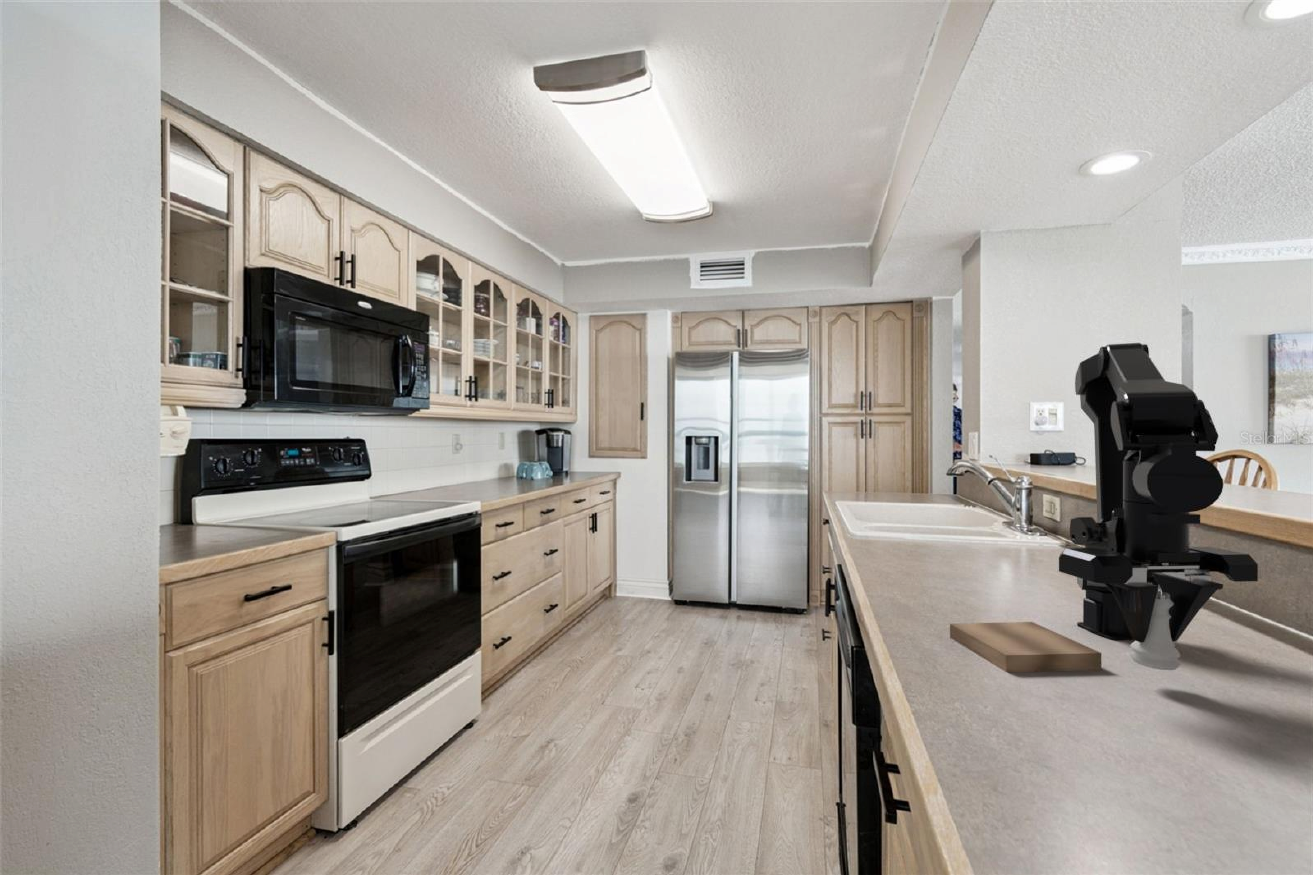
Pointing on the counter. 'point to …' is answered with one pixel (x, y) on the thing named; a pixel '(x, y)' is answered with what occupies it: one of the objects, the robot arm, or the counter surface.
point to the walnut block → (1024, 647)
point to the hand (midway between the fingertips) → (1154, 640)
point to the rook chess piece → (1157, 639)
